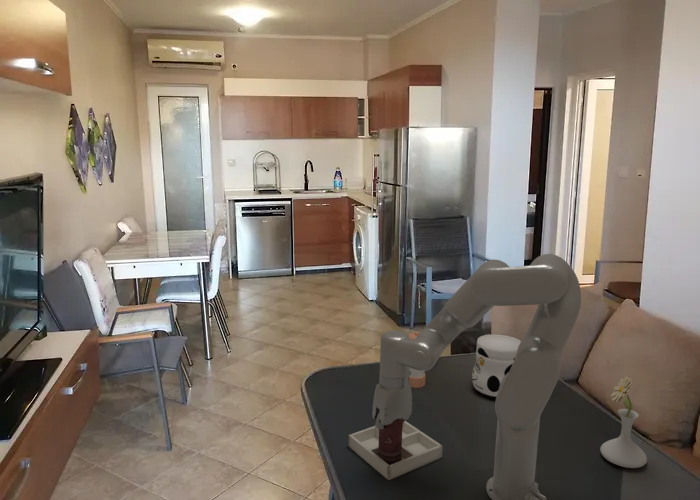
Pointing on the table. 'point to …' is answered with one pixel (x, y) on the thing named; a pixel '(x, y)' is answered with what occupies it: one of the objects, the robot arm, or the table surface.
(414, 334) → the pepper shaker
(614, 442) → the flower in vase
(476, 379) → the milk container
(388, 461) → the can
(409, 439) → the divided tray
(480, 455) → the table surface
